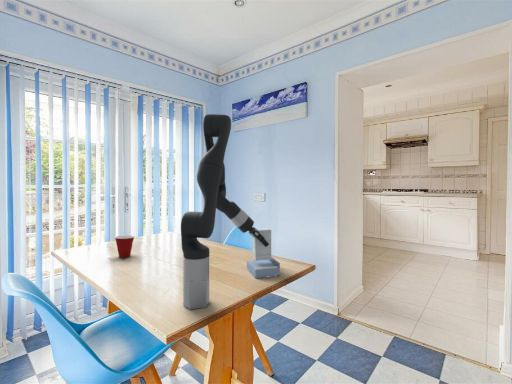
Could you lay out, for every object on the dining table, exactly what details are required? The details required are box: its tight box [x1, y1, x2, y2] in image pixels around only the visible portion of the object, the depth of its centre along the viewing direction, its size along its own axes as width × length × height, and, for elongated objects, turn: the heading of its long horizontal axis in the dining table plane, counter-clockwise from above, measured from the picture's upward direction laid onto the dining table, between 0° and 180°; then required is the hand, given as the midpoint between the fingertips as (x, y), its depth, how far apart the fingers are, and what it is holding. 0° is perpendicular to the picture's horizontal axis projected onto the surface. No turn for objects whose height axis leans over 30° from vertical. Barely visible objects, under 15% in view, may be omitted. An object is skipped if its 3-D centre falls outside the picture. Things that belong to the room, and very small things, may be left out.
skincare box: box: [252, 227, 272, 261], centre depth 129 cm, size 8×6×15 cm
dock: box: [246, 256, 281, 279], centre depth 129 cm, size 14×12×6 cm
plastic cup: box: [114, 234, 136, 259], centre depth 154 cm, size 11×11×12 cm
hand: (265, 243), depth 129 cm, fingers closed on skincare box, 6 cm apart
